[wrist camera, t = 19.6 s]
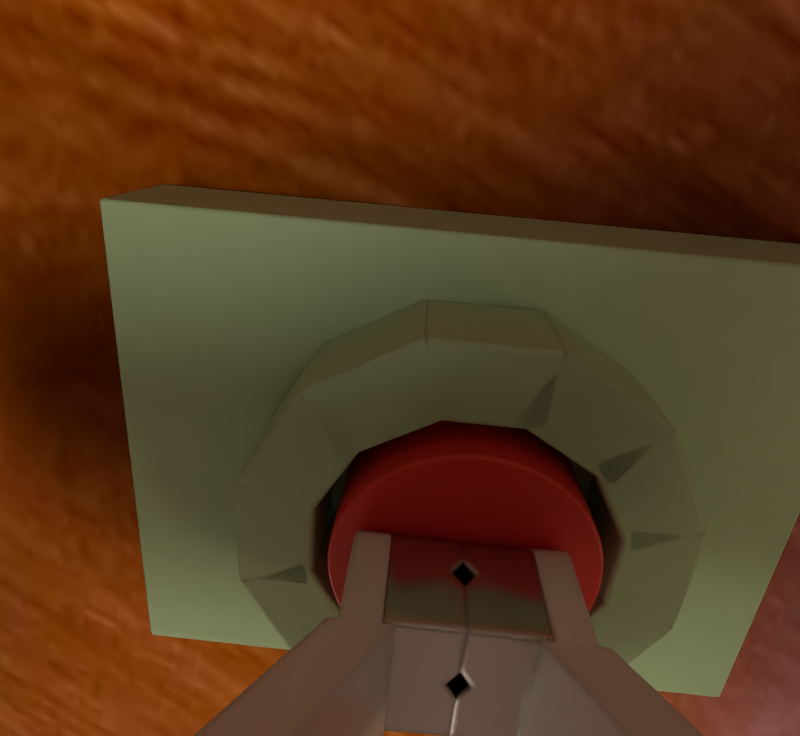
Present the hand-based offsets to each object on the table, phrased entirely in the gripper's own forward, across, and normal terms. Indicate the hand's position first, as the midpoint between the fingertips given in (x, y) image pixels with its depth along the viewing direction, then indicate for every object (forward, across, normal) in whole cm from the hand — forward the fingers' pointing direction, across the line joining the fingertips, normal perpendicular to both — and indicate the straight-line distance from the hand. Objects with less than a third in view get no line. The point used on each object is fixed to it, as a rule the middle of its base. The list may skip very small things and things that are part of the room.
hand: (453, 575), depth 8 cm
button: (+2, 0, 0) cm, 2 cm away
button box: (+4, 0, 0) cm, 4 cm away
